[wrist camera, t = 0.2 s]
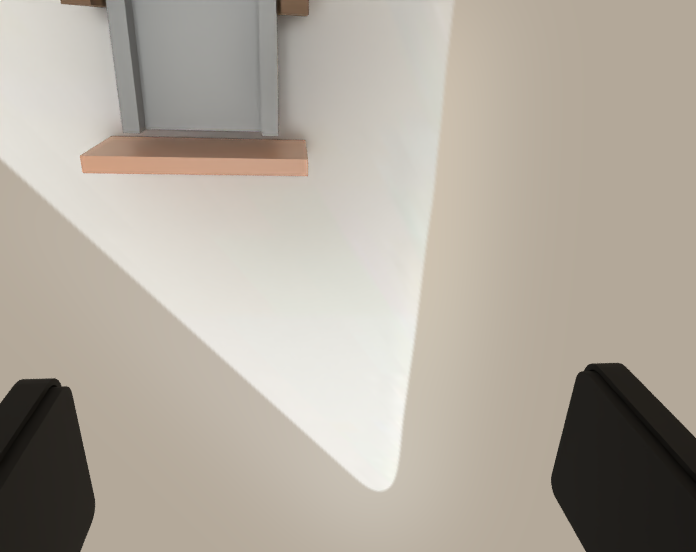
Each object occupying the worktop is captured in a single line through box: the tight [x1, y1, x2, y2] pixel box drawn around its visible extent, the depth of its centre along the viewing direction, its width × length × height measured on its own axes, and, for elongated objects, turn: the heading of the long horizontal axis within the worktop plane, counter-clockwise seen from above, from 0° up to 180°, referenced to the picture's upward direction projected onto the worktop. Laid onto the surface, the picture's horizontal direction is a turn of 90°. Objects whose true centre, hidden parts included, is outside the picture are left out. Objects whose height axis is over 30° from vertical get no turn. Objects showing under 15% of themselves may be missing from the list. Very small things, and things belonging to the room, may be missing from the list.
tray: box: [80, 0, 308, 176], centre depth 32 cm, size 12×13×6 cm
